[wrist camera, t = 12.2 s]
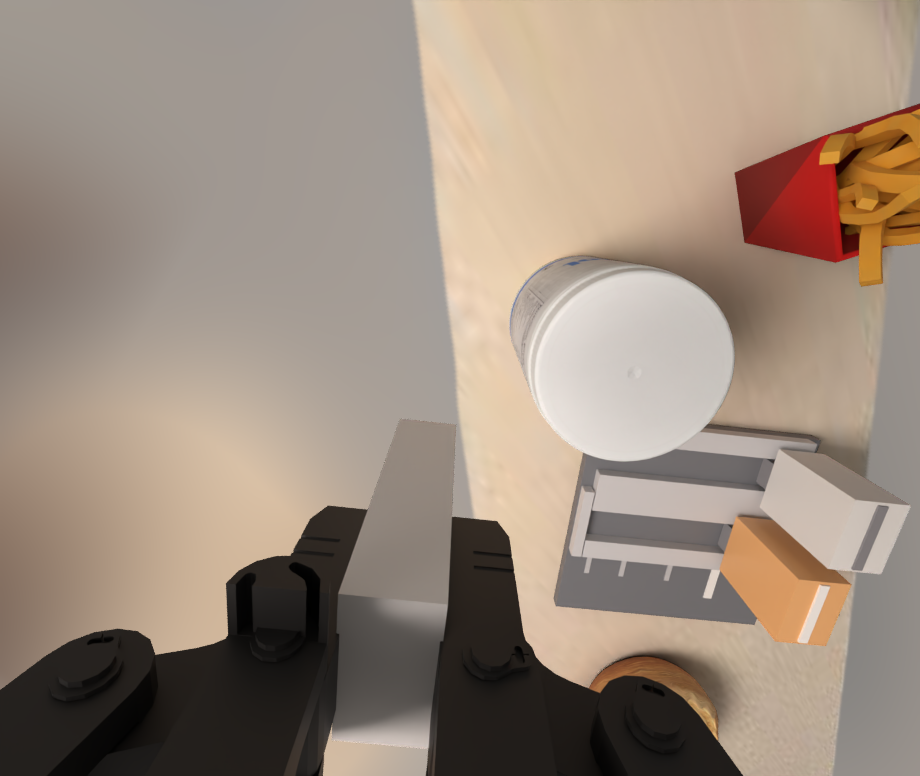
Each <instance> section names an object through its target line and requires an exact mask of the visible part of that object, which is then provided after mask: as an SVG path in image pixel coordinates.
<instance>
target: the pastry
mask: <svg viewBox="0 0 920 776" xmlns="http://www.w3.org/2000/svg"><path fill="white" fill-rule="evenodd" d="M624 675H628V676H643V677H646V678H648V679H651V680H654V681H657V682H659V683H662V684H664V685H665V686H667V687H668V688H670V689H671V690H673V691H674V692H676V693H677V694H679V695H680V696H682V697H683V698H684V699H685V700H686V701H687V702H688V704H689V705H690V706H691V707H692V708H693V709H694V710H695V711H696V712H697V713H698V714H699V715H700V717H701V718H702V720H703V721H704V722H705V724H706V725H707V727H708V728H709V729H710V731H711V732H712V733H713V735H714V736H715V738H716V739H717V740H718V716H717V712H716V709H715V707H714V705H713V704H712V702H711V701H710V699H709V698H708V696H707V694H706V693H705V691H704V690H703V689H702V687H701V686H700V685H699V683H698V682H697V681H696V680H695V679H694V678H693V677H692V676H691V675H689V674H688V673H687V672H686V671H685V670H683V669H681V668H680V667H678V666H676V665H674V664H672V663H670V662H668V661H666V660H663V659H659V658H654V657H633V658H629V659H625V660H622V661H619V662H616V663H615V664H613V665H611V666H609V667H608V668H606V669H604V670H603V671H602V672H601V673H600V674H599V675H598V676H597V677H596V678H595V679H594V680H593V682H592V684H591V685H590V688H589V689H591V690H594V691H596V692H599V693H600V692H601V691H602V690H603V688H604V687H605V686H606V684H607V683H608V682H609V681H610V680H613V679H615V678H618V677H621V676H624Z"/></svg>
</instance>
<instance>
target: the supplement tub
mask: <svg viewBox="0 0 920 776" xmlns="http://www.w3.org/2000/svg"><path fill="white" fill-rule="evenodd" d="M509 330H510V336H511V341H512V344H513V346H514V349H515V352H516V354H517V357H518V360H519V362H520V365H521V368H522V370H523V373H524V376H525V378H526V381H527V383H528V386H529V389H530V391H531V394H532V396H533V398H534V401H535V403H536V405H537V407H538V409H539V411H540V413H541V414H542V416H543V417H544V419H545V420H546V421H547V422H548V423H549V425H550V426H551V427H552V428H553V430H554V431H555V432H556V433H557V434H558V435H559V436H560V437H561V438H562V439H563V440H564V441H566V442H567V443H568V444H570V445H571V446H572V447H574V448H576V449H577V450H579V451H581V452H583V453H585V454H588V455H590V456H593V457H597V458H600V459H605V460H611V461H624V462H626V461H639V460H645V459H650V458H653V457H657V456H660V455H663V454H665V453H668V452H670V451H672V450H674V449H676V448H678V447H680V446H682V445H683V444H685V443H686V442H688V441H689V440H690V439H692V438H693V437H694V436H696V435H697V434H698V433H699V432H700V431H701V430H702V429H703V428H704V427H705V426H706V425H707V424H708V423H709V422H710V421H711V419H712V418H713V417H714V416H715V414H716V413H717V411H718V410H719V408H720V407H721V405H722V403H723V401H724V399H725V397H726V395H727V392H728V390H729V387H730V384H731V380H732V377H733V371H734V363H735V350H734V342H733V337H732V333H731V330H730V327H729V324H728V322H727V320H726V318H725V316H724V314H723V312H722V311H721V309H720V308H719V306H718V305H717V304H716V302H715V301H714V300H713V299H712V298H711V297H710V296H709V295H708V294H707V293H706V292H705V291H704V290H702V289H701V288H700V287H698V286H697V285H695V284H694V283H692V282H690V281H688V280H686V279H684V278H683V277H681V276H679V275H677V274H675V273H673V272H670V271H667V270H664V269H660V268H656V267H652V266H647V265H641V264H635V263H628V262H621V261H615V260H608V259H603V258H596V257H589V256H571V257H565V258H561V259H557V260H555V261H552V262H550V263H548V264H545V265H544V266H542V267H540V268H539V269H538V270H536V271H535V272H534V273H533V274H532V275H531V276H530V277H529V278H528V279H527V280H526V281H525V282H524V283H523V285H522V286H521V287H520V289H519V290H518V292H517V294H516V296H515V299H514V301H513V304H512V307H511V311H510V318H509Z"/></svg>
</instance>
